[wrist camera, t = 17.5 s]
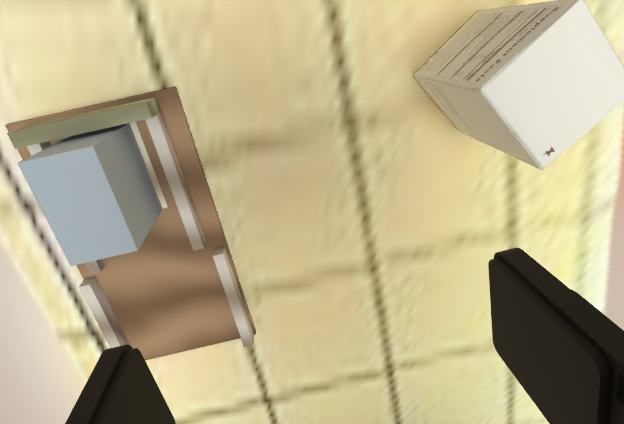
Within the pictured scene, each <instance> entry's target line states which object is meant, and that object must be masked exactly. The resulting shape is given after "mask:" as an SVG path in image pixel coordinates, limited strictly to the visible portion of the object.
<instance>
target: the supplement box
mask: <svg viewBox="0 0 624 424" xmlns="http://www.w3.org/2000/svg"><path fill="white" fill-rule="evenodd" d="M413 76H414V77H415V79H416V80H417V81H418V82H419V84H420V85H421V86H422V88H423V89H424V90H425V91H426V92H427V94H428V95H429V96H430V97H431V98H432V100H433V101H434V102H435V103H436V104H437V105H438V107H439V108H440V109H441V110H442V111H443V113H444V114H445V115H446V116H447V117H448V118H449V120H450V121H451V122H452V123H453V124H454V125H455V127H456V128H457V129H458V130H459V131H460V132H462V133H464V134H467V135H468V136H471V137H473V138H475V139H477V140H479V141H481V142H483V143H486V144H488V145H490V146H492V147H494V148H496V149H498V150H500V151H503V152H505V153H507V154H509V155H511V156H513V157H515V158H517V159H519V160H521V161H524V162H526V163H528V164H530V165H532V166H534V167H536V168H538V169H541V170H543V169H544V168H545V167H547V166H548V165H549V164H550V163H551V162H552V161H554V160H555V159H556V158H557V157H559V156H560V155H561V154H562V153H563V152H564V151H566V150H567V149H568V148H569V147H570V146H571V145H573V144H574V143H575V142H576V141H577V140H578V139H580V138H581V137H582V136H583V135H584V134H586V133H587V132H588V131H589V130H590V129H591V128H593V127H594V126H595V125H596V124H597V123H598V122H600V121H601V120H602V119H603V118H604V117H605V116H607V115H608V114H609V113H610V112H611V111H612V110H614V109H615V108H616V107H617V106H618V105H619V104H621V103H622V102H623V101H624V66H623V64H622V63H621V61H620V59H619V58H618V56H617V54H616V53H615V51H614V49H613V48H612V46H611V44H610V43H609V41H608V39H607V38H606V36H605V34H604V33H603V31H602V29H601V28H600V26H599V24H598V23H597V21H596V19H595V18H594V16H593V14H592V13H591V11H590V9H589V8H588V6H587V4H586V2H585V1H584V0H558V1H550V2H542V3H535V4H528V5H520V6H512V7H504V8H496V9H489V10H481V11H477V12H476V13H475V14H474V15H473V16H472V17H471V18H470V19H469V20H468V21H467V22H466V23H465V24H464V25H463V26H462V27H461V28H460V29H459V30H458V31H457V32H456V33H455V34H454V35H453V36H452V37H451V38H450V39H449V40H448V41H447V42H446V43H445V44H444V45H443V46H442V47H441V48H440V49H439V50H438V51H437V52H436V53H435V54H434V55H433V56H432V57H431V58H430V59H429V60H428V61H427V62H425V64H424V65H423V66H422V67H421V68H419V69H418V70H417V72H416V73H415V74H414V75H413Z"/></svg>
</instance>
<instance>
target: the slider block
mask: <svg viewBox="0 0 624 424" xmlns="http://www.w3.org/2000/svg"><path fill="white" fill-rule="evenodd" d="M18 165H19V167H20V169H21V171H22V173H23V175H24V177H25V178H26V180H27V182H28V184H29V186H30V188H31V190H32V192H33V194H34V196H35V198H36V200H37V202H38V204H39V206H40V208H41V210H42V211H43V213H44V215H45V217H46V219H47V221H48V223H49V225H50V227H51V229H52V231H53V233H54V235H55V237H56V239H57V241H58V242H59V244H60V246H61V248H62V250H63V252H64V254H65V256H66V258H67V260H68V262H69V264H70V266H74V265H78V264H82V263H87V262H91V261H95V260H100V259H104V258H108V257H113V256H117V255H121V254H126V253H130V252H135V251H138V250H139V248H140V246H141V245H142V243H143V241H144V240H145V238H146V236H147V234H148V233H149V231H150V229H151V228H152V226H153V224H154V223H155V221H156V219H157V218H158V216H159V214H160V212H161V211H162V206H161V203H160V201H159V198H158V196H157V193H156V190H155V188H154V185H153V183H152V180H151V177H150V175H149V172H148V170H147V167H146V164H145V162H144V159H143V156H142V154H141V151H140V149H139V146H138V143H137V141H136V138H135V136H134V133H133V130H132V128H131V125H130V123H127V124H123V125H118V126H114V127H109V128H105V129H100V130H96V131H92V132H87V133H83V134H78V135H74V136H69V137H67V138H65V139H63V140H61V141H59V142H57V143H56V144H54V145H52V146H50V147H48V148H46V149H44V150H42V151H40V152H38V153H36V154H34V155H32V156H30V157H28V158H26V159H24V160H23V161H21V162H19V163H18Z"/></svg>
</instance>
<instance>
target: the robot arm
mask: <svg viewBox="0 0 624 424" xmlns="http://www.w3.org/2000/svg"><path fill="white" fill-rule="evenodd" d="M489 282H490V299H491V317H492V335H493V343H494V346H495V349H496V351H497V353H498V354H499V356H500V357H501V358H502V360H503V361H504V362H505V364H506V365H507V366H508V368H509V369H510V370H511V372H512V373H513V374H514V376H515V377H516V379H517V380H518V381H519V383H520V384H521V385H522V387H523V388H524V389H525V391H526V392H527V393H528V395H529V396H530V398H531V399H532V400H533V402H534V403H535V404H536V406H537V407H538V408H539V410H540V411H541V412H542V414H543V415H544V417H545V418H546V419H547V421H548V422H549V423H550V424H624V331H623V330H622V329H621V328H619V327H618V326H617V325H616V324H615V323H613V322H612V321H611V320H610V319H609V318H607V317H606V316H605V315H604V314H602V313H601V312H600V311H599V310H598V309H596V308H595V307H594V306H593V305H591V304H590V303H589V302H588V301H586V300H585V299H584V298H583V297H582V296H580V295H579V294H578V293H576V292H575V291H573V290H570V289H569V288H568V287H567V286H565V285H564V284H563V283H562V282H561V281H559V280H558V279H557V278H556V277H555V276H553V275H552V274H551V273H550V272H548V271H547V270H546V269H545V268H544V267H542V266H541V265H540V264H539V263H538V262H536V261H535V260H534V259H533V258H531V257H530V256H529V255H528V254H527V253H525V252H524V251H523V250H522V249H520V248H513V249H509V250H505V251H501V252H497V253H496V254H495V255H494V259H492V260H490V261H489ZM65 424H175V420H174V417H173V415H172V413H171V411H170V409H169V407H168V405H167V403H166V401H165V399H164V397H163V396H162V394H161V392H160V390H159V388H158V386H157V384H156V382H155V380H154V378H153V376H152V374H151V372H150V370H149V368H148V366H147V364H146V362H145V360H144V358H143V356H142V354H141V352H140V350H139V349H138V348H134V349H133V348H132V346H130V345H128V344H126V345H122V346H118V347H114V348H110V349H106V350H104V351H103V353H102V354H101V356H100V358H99V360H98V362H97V364H96V366H95V368H94V370H93V372H92V373H91V375H90V377H89V379H88V381H87V383H86V385H85V387H84V389H83V391H82V393H81V395H80V396H79V399H78V400H77V402H76V404H75V406H74V408H73V410H72V412H71V414H70V416H69V418H68V420H67V422H66V423H65Z"/></svg>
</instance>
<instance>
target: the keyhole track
mask: <svg viewBox="0 0 624 424" xmlns="http://www.w3.org/2000/svg"><path fill="white" fill-rule="evenodd" d="M127 123H130V125H131V128H132V130H133V133H134V136H135V138H136V141H137V143H138V146H139V149H140V151H141V154H142V156H143V159H144V162H145V164H146V167H147V170H148V172H149V175H150V177H151V180H152V183H153V185H154V188H155V190H156V193H157V196H158V198H159V201H160V203H161V206H162V211H161V212H160V214H159V216H158V218H157V219H156V221H155V223H154V224H153V226H152V228H151V229H150V231H149V233H148V234H147V236H146V238H145V240H144V241H143V243H142V245H141V246H140V248H139V250H138V251H135V252H130V253H126V254H121V255H117V256H113V257H108V258H104V259H100V260H95V261H91V262H87V263H82V264H78V265H77V267H78V269H79V271H80V273H81V275H82V277H83V279H84V281H83V282H82V284H81V285H80V286H79V288H80V290H81V292H82V294H83V296H84V298H85V300H86V302H87V303H88V305H89V307H90V309H91V311H92V313H93V315H94V317H95V319H96V321H97V323H98V325H99V327H100V328H101V330H102V332H103V334H104V336H105V338H106V340H107V342H108V344H109V346H110V348H114V347H118V346H122V345H126V344H128V345H130V346H132V348H133V349H134V348H138V349H139V350H140V352H141V354H142V356H143V358H144V360H149V359H153V358H157V357H161V356H166V355H170V354H174V353H178V352H183V351H187V350H191V349H196V348H200V347H204V346H208V345H213V344H217V343H221V342H226V341H230V340H234V339H238V338H241V339H242V342H243V345H244V347H245V346H249V345H253V344H254V335H255V334H256V331H255V328H254V325H253V322H252V319H251V316H250V313H249V310H248V307H247V303H246V300H245V297H244V294H243V291H242V288H241V285H240V282H239V279H238V276H237V273H236V270H235V267H234V264H233V261H232V258H231V254H230V251H229V248H228V245H227V242H226V239H225V236H224V233H223V230H222V227H221V224H220V221H219V218H218V215H217V212H216V209H215V205H214V202H213V199H212V196H211V193H210V190H209V187H208V184H207V181H206V178H205V175H204V172H203V169H202V166H201V163H200V160H199V157H198V153H197V150H196V147H195V144H194V141H193V138H192V135H191V132H190V129H189V126H188V123H187V120H186V117H185V114H184V111H183V108H182V104H181V101H180V98H179V95H178V92H177V89H176V87H172V88H168V89H163V90H159V91H154V92H150V93H145V94H141V95H136V96H132V97H127V98H123V99H118V100H114V101H109V102H105V103H101V104H96V105H92V106H87V107H83V108H78V109H74V110H69V111H65V112H60V113H56V114H51V115H47V116H42V117H38V118H34V119H29V120H25V121H20V122H16V123H11V124H7V125H5V126H6V128H7V130H8V132H9V133H7V134H8V136H9V138H10V140H11V142H12V144H13V146H14V148H15V149H16V148H17V149H18V151H19V153H20V155H21V157H22V159H23V160H24V159H26V158H28V157H30V156H32V155H34V154H36V153H38V152H40V151H42V150H44V149H46V148H48V147H50V146H52V145H54V144H56V143H57V142H59V141H61V140H63V139H65V138H67V137H69V136H74V135H78V134H83V133H87V132H92V131H96V130H100V129H105V128H109V127H114V126H118V125H123V124H127Z"/></svg>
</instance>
